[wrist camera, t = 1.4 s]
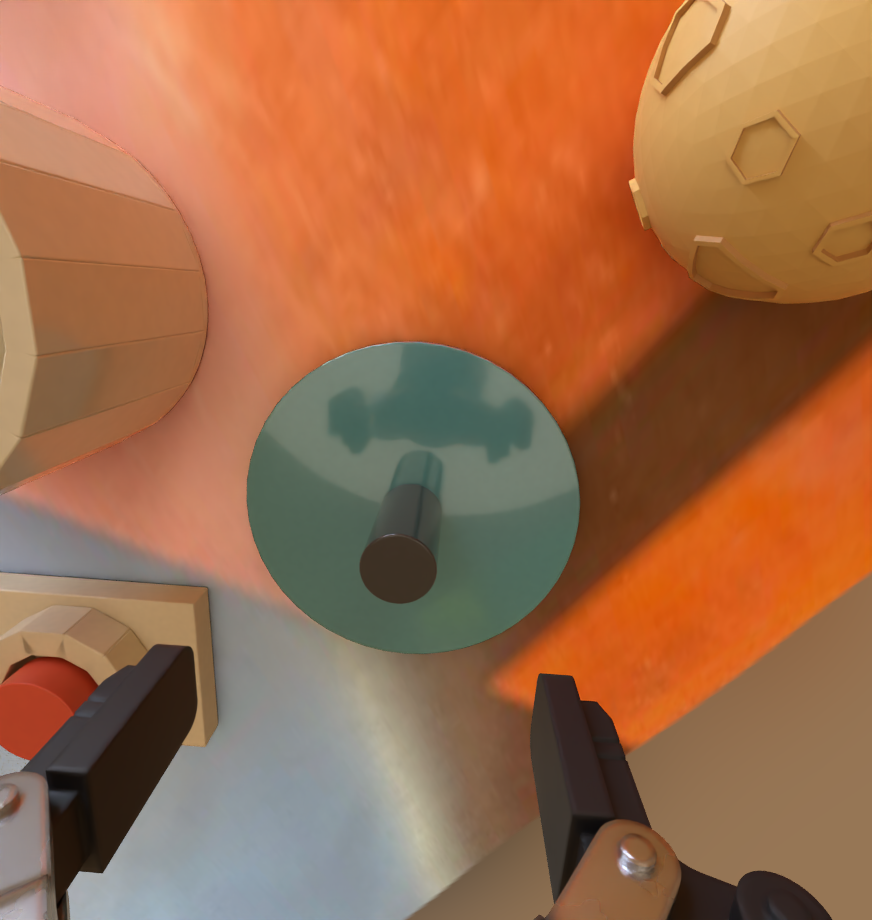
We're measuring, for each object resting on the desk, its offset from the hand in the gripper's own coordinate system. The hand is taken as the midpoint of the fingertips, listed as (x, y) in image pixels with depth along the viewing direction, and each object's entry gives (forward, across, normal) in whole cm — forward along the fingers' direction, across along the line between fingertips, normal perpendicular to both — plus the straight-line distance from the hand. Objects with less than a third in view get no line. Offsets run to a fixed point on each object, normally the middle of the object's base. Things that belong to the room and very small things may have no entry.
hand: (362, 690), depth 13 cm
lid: (+11, 0, 0) cm, 11 cm away
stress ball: (+12, -11, -14) cm, 22 cm away
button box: (+12, +15, +9) cm, 21 cm away
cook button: (+9, +15, +9) cm, 19 cm away
